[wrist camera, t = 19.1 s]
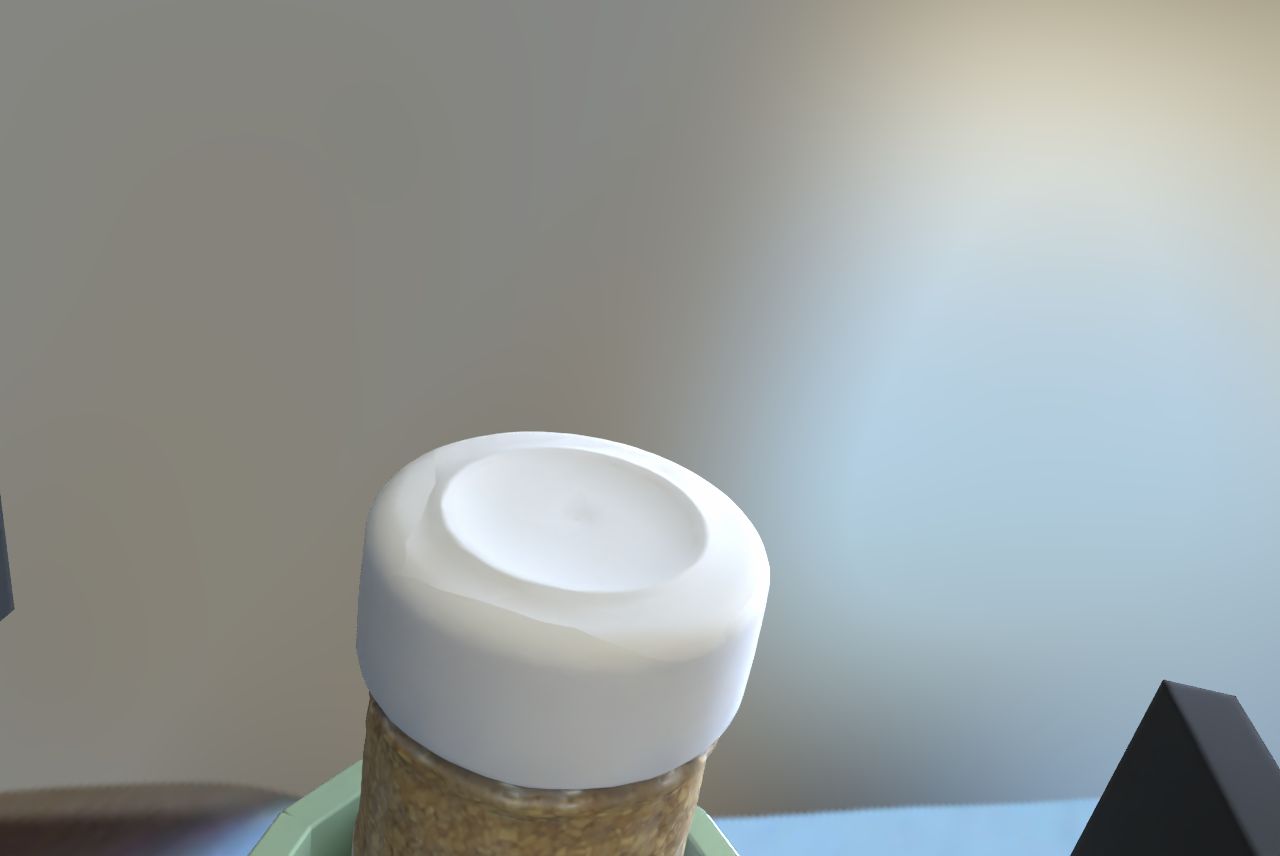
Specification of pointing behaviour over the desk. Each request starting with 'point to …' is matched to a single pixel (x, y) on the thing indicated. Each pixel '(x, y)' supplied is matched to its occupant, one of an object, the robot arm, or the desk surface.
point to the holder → (325, 818)
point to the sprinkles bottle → (548, 648)
